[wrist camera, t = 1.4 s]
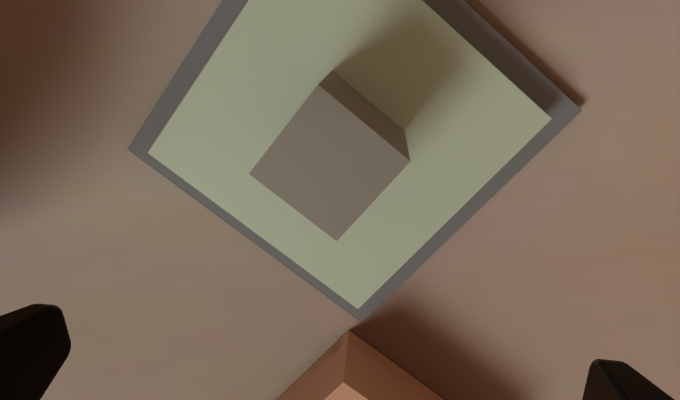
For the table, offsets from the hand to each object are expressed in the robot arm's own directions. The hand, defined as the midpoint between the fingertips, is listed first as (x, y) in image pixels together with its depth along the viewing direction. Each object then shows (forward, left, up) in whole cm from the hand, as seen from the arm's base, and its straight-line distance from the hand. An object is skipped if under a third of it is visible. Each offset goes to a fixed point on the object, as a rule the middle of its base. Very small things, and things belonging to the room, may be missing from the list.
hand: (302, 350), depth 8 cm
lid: (-1, +1, -12) cm, 12 cm away
